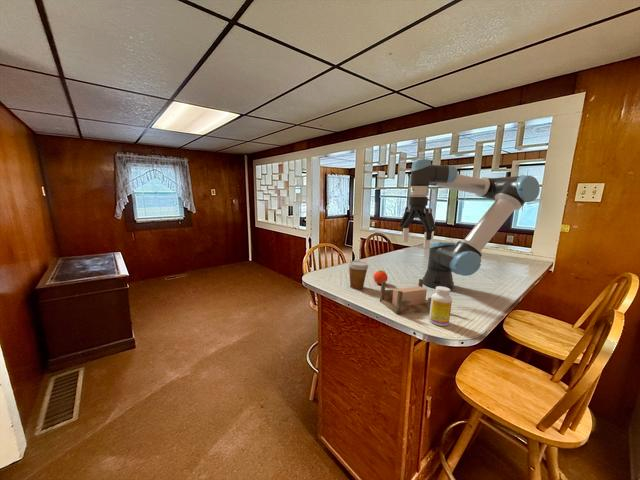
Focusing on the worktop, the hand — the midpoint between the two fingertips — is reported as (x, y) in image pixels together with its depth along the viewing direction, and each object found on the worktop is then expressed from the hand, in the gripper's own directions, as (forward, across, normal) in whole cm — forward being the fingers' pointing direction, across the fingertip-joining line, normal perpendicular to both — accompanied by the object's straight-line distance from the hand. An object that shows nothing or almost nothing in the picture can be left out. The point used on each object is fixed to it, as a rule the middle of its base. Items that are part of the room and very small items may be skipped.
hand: (415, 244), depth 117 cm
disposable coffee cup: (+23, -15, -20) cm, 34 cm away
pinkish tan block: (+22, +10, -10) cm, 27 cm away
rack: (+23, +10, -10) cm, 27 cm away
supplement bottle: (+24, +25, -10) cm, 36 cm away
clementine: (+24, -17, -5) cm, 30 cm away
